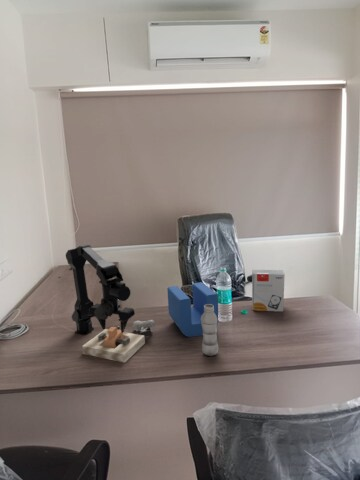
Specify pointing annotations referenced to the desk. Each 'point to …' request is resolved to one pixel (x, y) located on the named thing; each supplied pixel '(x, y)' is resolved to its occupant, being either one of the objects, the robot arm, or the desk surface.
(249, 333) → the desk surface
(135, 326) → the clip-on lamp
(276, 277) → the hard drive box
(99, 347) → the beige square frame
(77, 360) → the desk surface
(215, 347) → the plastic bottle
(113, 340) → the wooden cross piece
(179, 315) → the block
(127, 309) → the robot arm
